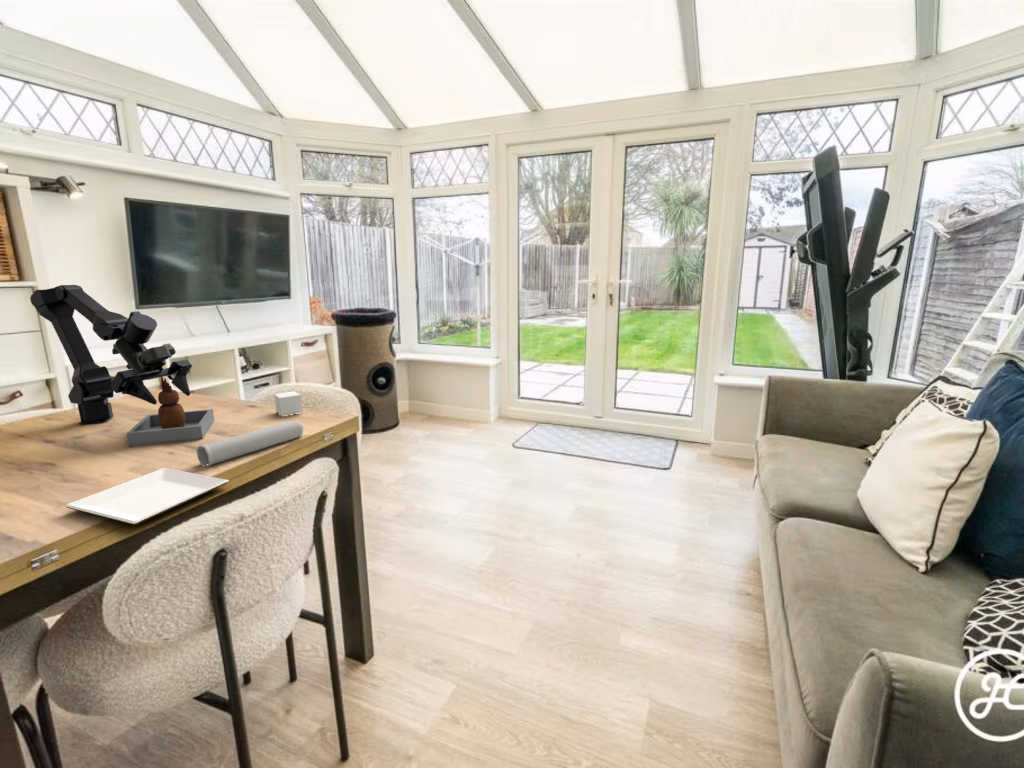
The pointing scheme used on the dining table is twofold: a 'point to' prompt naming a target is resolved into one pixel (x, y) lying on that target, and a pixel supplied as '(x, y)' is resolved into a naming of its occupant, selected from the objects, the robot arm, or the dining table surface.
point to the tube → (247, 443)
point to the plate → (147, 495)
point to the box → (170, 429)
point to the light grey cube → (288, 403)
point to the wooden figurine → (170, 407)
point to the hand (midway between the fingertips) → (173, 398)
